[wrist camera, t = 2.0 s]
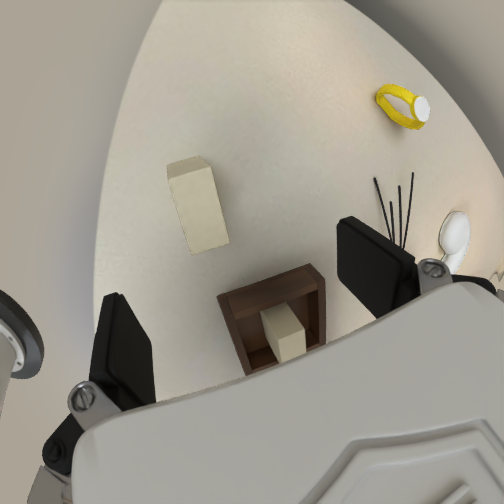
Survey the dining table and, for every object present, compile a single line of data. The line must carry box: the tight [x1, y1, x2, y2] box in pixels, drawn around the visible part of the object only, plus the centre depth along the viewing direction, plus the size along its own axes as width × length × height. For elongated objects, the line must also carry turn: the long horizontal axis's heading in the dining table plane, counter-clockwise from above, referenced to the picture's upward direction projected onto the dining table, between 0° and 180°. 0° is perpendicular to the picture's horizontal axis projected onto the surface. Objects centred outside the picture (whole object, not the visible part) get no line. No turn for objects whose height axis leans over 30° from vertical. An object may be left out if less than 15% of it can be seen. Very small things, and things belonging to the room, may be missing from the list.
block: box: [260, 302, 306, 364], centre depth 31 cm, size 3×6×6 cm, turn 11°
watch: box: [376, 84, 430, 130], centre depth 23 cm, size 6×3×6 cm, turn 55°
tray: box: [217, 263, 326, 376], centre depth 37 cm, size 11×32×4 cm, turn 12°
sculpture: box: [439, 212, 471, 274], centre depth 38 cm, size 12×15×8 cm
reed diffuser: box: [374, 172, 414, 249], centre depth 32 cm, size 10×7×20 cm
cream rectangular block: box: [166, 156, 230, 255], centre depth 21 cm, size 3×6×6 cm, turn 11°
